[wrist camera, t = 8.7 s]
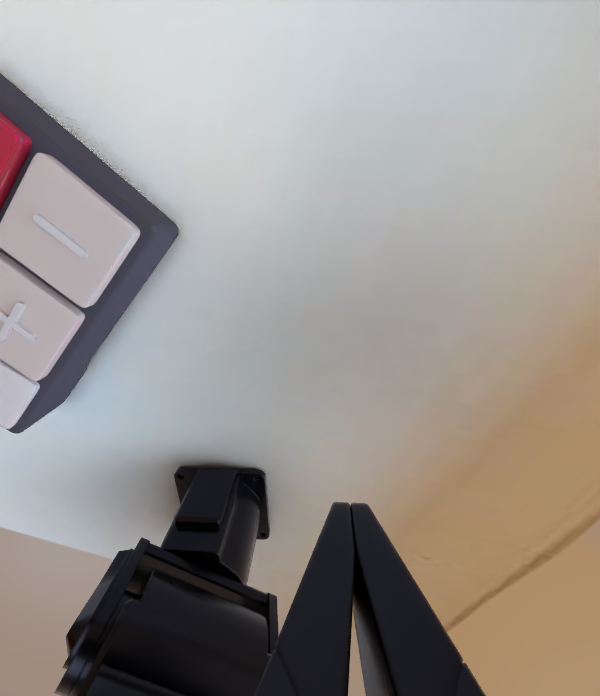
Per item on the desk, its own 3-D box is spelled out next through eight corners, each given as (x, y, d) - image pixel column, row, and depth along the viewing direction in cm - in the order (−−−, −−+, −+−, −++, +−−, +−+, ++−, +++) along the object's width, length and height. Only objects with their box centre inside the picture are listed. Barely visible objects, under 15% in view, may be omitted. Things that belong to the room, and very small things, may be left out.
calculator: (150, 230, 14) (5, 446, 18) (187, 229, 18) (61, 406, 22) (-111, 11, 12) (-208, 316, 16) (-3, 66, 16) (-102, 298, 20)
